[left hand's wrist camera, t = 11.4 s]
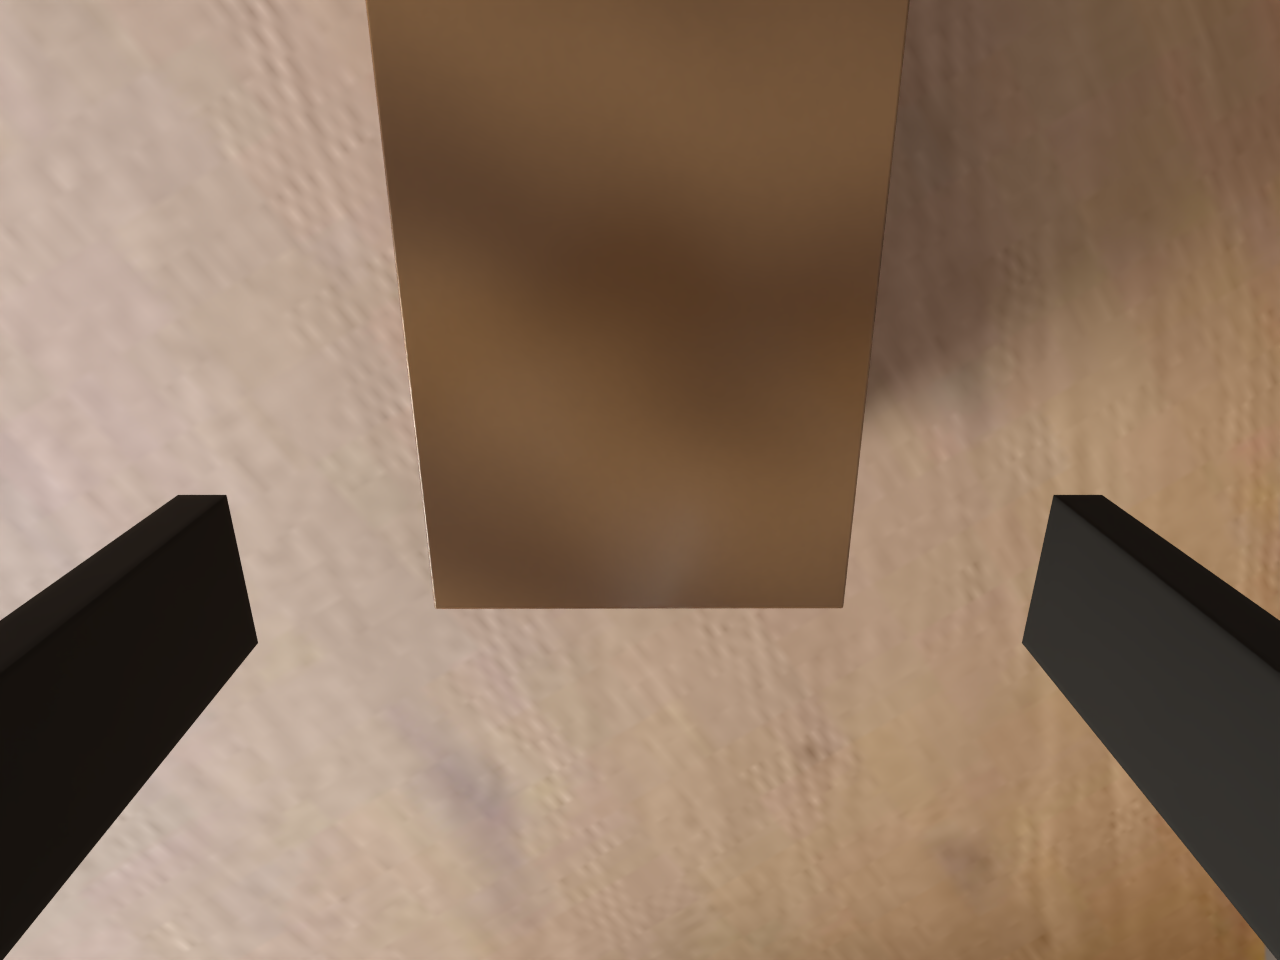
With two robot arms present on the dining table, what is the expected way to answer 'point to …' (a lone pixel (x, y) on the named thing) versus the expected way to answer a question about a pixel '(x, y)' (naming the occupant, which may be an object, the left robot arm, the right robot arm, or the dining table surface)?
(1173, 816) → the left robot arm
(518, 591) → the cabinet
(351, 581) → the dining table surface
